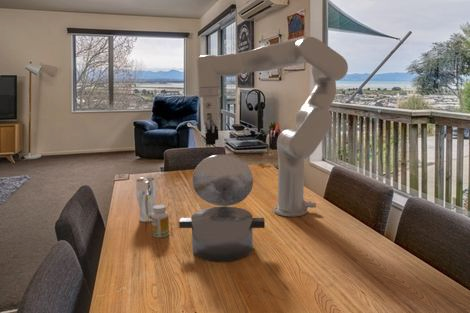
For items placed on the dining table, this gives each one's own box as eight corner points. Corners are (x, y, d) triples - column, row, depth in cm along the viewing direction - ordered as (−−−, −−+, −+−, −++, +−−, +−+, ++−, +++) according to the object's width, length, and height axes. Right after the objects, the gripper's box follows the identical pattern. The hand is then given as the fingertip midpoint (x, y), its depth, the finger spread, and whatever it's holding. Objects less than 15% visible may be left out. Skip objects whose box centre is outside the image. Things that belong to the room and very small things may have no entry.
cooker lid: (252, 205, 119) (252, 199, 121) (253, 156, 109) (252, 150, 112) (194, 206, 119) (196, 199, 122) (189, 156, 110) (191, 151, 112)
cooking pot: (262, 235, 120) (263, 206, 118) (265, 262, 103) (265, 228, 101) (186, 235, 121) (184, 206, 119) (175, 262, 104) (174, 228, 102)
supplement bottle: (170, 231, 125) (168, 203, 123) (168, 237, 120) (166, 209, 118) (154, 231, 125) (152, 204, 123) (151, 238, 120) (149, 209, 118)
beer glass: (138, 223, 132) (135, 182, 129) (137, 217, 139) (135, 178, 136) (158, 221, 134) (155, 181, 131) (156, 215, 141) (154, 176, 138)
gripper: (218, 93, 118) (220, 146, 122) (223, 91, 135) (225, 138, 139) (194, 94, 119) (198, 146, 122) (202, 92, 136) (205, 138, 139)
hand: (212, 142), depth 130 cm, fingers open, 9 cm apart
